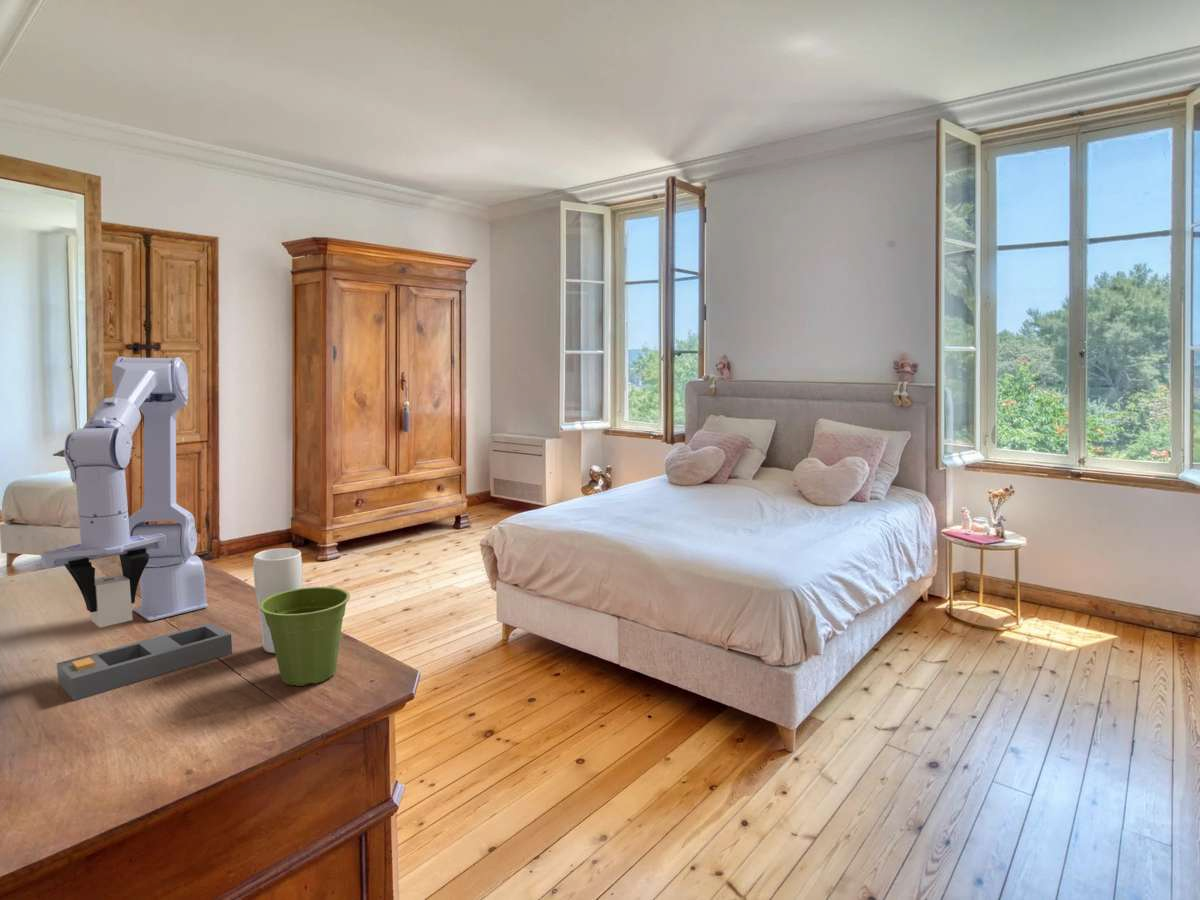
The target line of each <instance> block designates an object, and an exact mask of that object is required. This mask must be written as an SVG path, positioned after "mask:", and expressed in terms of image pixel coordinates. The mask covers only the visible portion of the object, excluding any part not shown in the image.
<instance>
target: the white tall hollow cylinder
mask: <svg viewBox="0 0 1200 900" xmlns="http://www.w3.org/2000/svg"><path fill="white" fill-rule="evenodd" d="M303 576H304V574H303V559H302V552H301V550H299V549H297V548H292V547H291V548H290V547H281V548H279V547H278V548H271V549H265V550H262V551H259V552H257V553H255V554H254V555H253V581H254V590H255V596H256V603H257V609H258V615H259V616H258V617H259V622H260V629H261V638H262V648H263V650H264V651H265V652H267V653H270V654H275V650H274V646H273V641H272V637H271V633H270V629H269V627H268V625H267V623H266V619H265V615H264V613H263V612H262V611H261V610H260V609H259V604H260V602H261V601H263V600H264V599H265V598H267V597H269V596H271V595H274V594H277V593H280V592H284V591H288V590H293V589H299V588H303Z"/></svg>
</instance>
